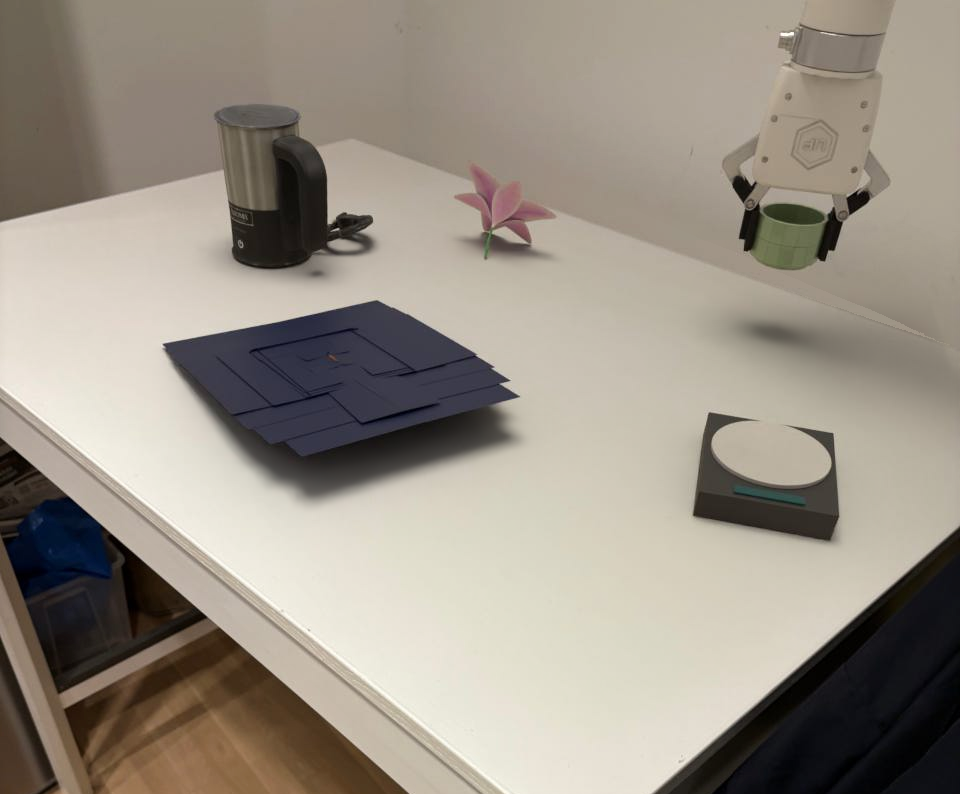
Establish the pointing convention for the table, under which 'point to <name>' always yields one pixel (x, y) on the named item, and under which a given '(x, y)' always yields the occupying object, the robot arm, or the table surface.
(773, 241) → the bowl
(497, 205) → the lily
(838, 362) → the table surface
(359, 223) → the milk frother
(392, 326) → the papers
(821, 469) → the scale
